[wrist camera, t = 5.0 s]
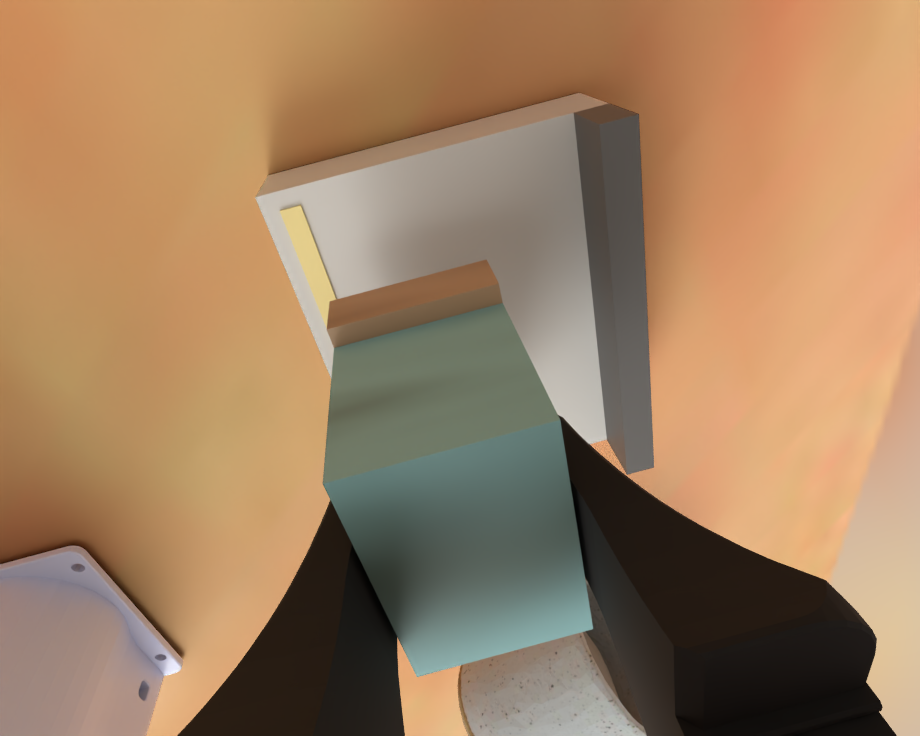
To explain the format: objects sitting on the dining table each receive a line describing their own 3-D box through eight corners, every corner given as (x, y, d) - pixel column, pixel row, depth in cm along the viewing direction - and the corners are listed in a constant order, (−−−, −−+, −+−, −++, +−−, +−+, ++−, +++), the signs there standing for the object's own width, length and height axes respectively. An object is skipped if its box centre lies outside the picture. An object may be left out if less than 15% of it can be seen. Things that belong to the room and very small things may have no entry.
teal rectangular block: (529, 464, 18) (595, 641, 13) (405, 498, 18) (422, 688, 13) (486, 259, 14) (556, 395, 9) (329, 301, 14) (311, 461, 9)
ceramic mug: (437, 634, 31) (459, 796, 25) (553, 552, 29) (611, 707, 23) (550, 690, 36) (593, 837, 30) (656, 624, 34) (726, 767, 28)
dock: (608, 396, 24) (654, 467, 20) (380, 457, 24) (384, 540, 20) (579, 92, 18) (638, 114, 14) (267, 175, 18) (242, 219, 14)
